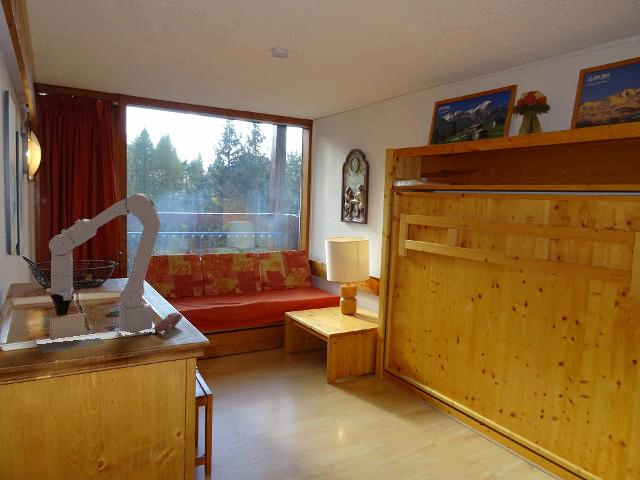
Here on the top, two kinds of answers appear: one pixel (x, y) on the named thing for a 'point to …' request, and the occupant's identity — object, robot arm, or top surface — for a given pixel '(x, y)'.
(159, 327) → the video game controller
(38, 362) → the top surface
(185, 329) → the top surface
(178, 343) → the top surface
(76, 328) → the tile
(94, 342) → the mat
